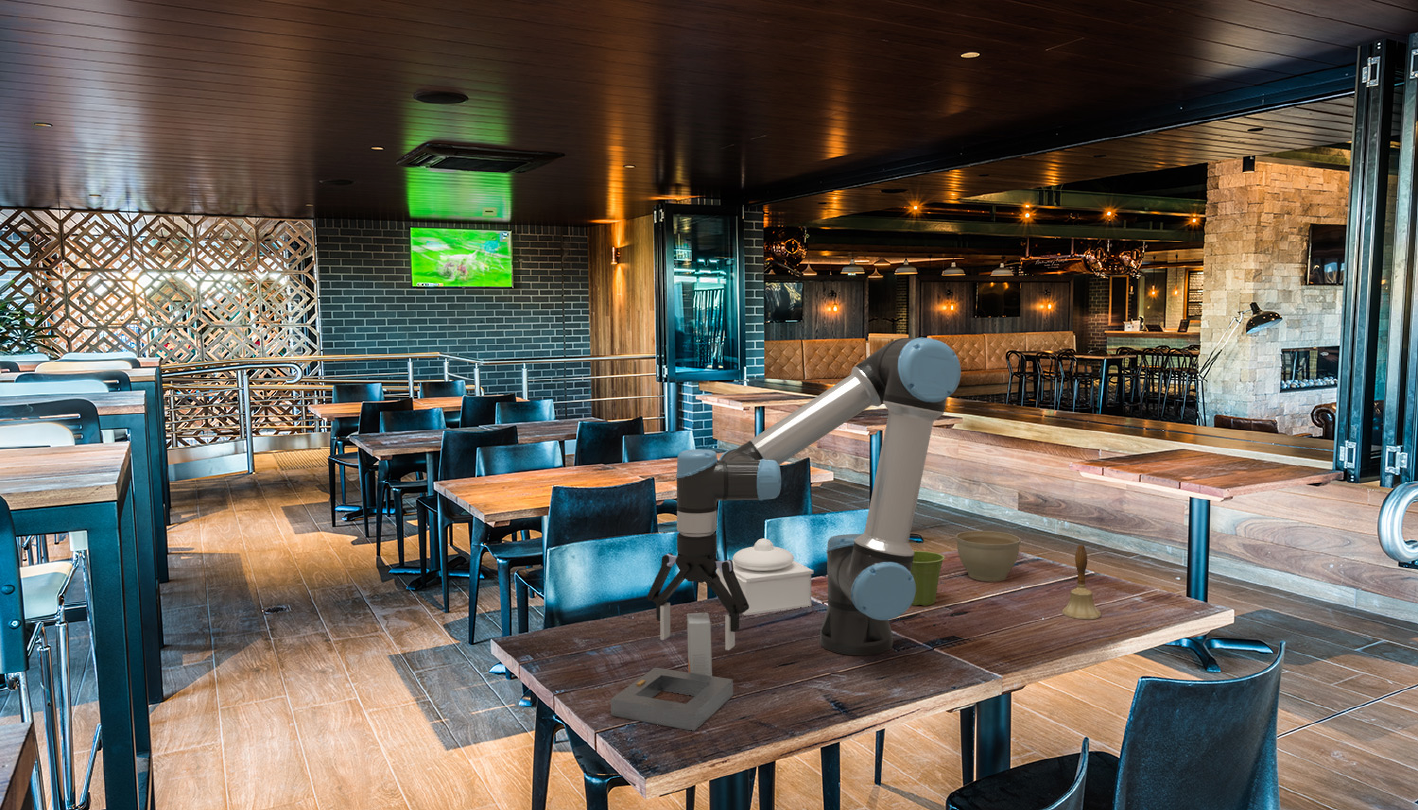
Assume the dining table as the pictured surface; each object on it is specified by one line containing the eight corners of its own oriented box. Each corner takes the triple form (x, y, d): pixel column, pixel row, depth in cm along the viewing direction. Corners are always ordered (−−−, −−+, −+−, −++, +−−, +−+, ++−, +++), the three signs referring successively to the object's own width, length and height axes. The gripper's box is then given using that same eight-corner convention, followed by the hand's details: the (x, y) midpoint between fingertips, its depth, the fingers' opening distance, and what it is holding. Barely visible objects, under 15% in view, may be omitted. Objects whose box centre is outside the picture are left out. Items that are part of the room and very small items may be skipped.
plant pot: (951, 599, 221) (951, 553, 221) (935, 612, 211) (935, 564, 211) (904, 592, 228) (904, 548, 227) (886, 605, 218) (886, 558, 217)
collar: (733, 695, 165) (732, 677, 165) (694, 731, 151) (694, 711, 151) (655, 682, 172) (654, 665, 172) (611, 715, 158) (610, 697, 157)
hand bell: (1061, 617, 206) (1062, 548, 205) (1062, 607, 213) (1063, 540, 212) (1101, 621, 203) (1102, 550, 201) (1100, 610, 210) (1101, 542, 209)
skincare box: (687, 673, 176) (686, 613, 176) (709, 672, 177) (708, 612, 176) (689, 685, 170) (688, 622, 169) (712, 684, 171) (711, 621, 170)
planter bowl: (1010, 589, 229) (1011, 546, 228) (947, 580, 238) (947, 539, 237) (1027, 574, 242) (1027, 534, 241) (966, 567, 251) (966, 528, 250)
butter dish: (716, 596, 228) (715, 534, 227) (781, 588, 235) (780, 527, 233) (744, 616, 212) (743, 549, 210) (813, 606, 218) (813, 541, 217)
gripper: (766, 534, 170) (765, 645, 171) (648, 522, 180) (648, 628, 182) (750, 542, 163) (750, 658, 164) (629, 530, 173) (630, 639, 175)
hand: (697, 642), depth 173 cm, fingers open, 13 cm apart
